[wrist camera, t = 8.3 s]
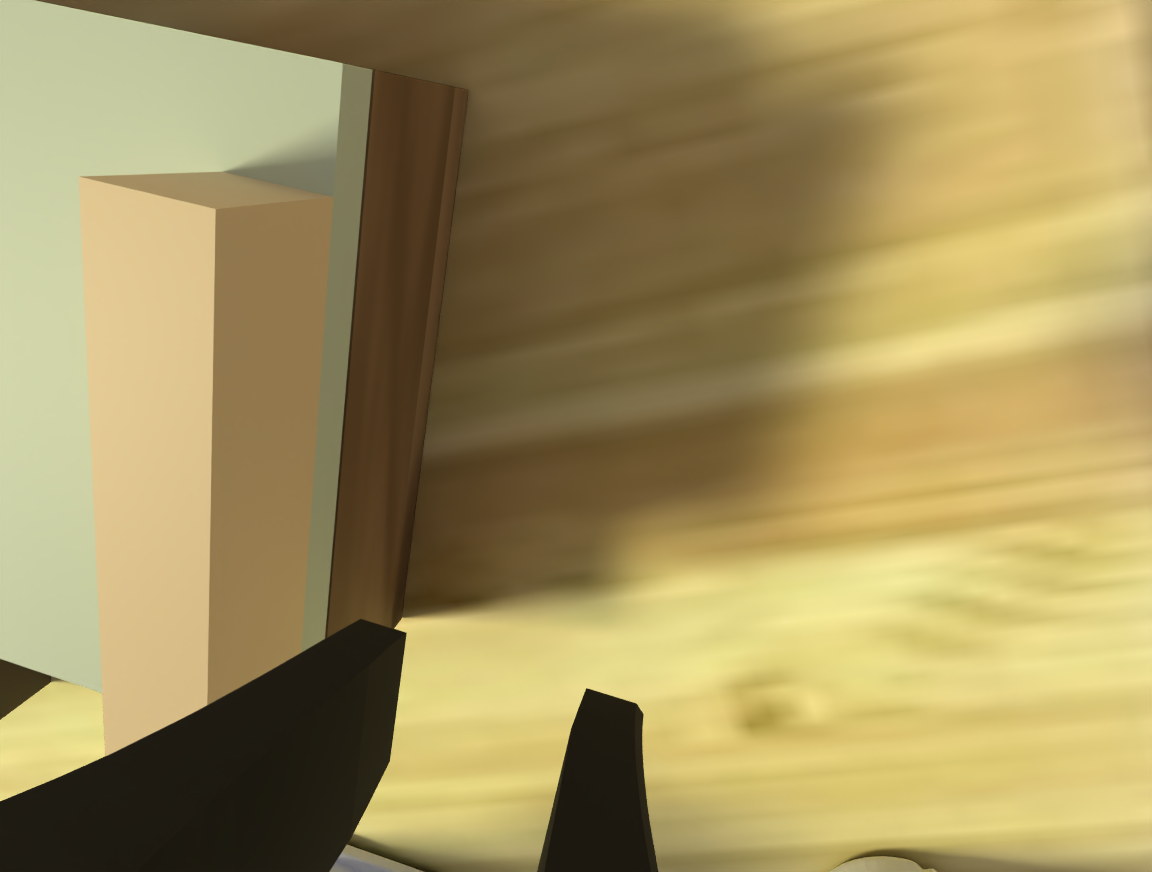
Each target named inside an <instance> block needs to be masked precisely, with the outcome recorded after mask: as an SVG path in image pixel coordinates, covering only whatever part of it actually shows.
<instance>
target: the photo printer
mask: <svg viewBox="0 0 1152 872" xmlns="http://www.w3.org/2000/svg"><path fill="white" fill-rule="evenodd" d="M830 872H937V871H936V870H935V869H922V868H921V867H920V866H919V865H918V864H917V863H915V862H914V861H911V860H907V859H903V858H897V857H887V856H877V857H865V858H860V859H855V860H851V861H848V862H846V863H843V864H841V865H839V866H837V867H836V868H834V869H832V870H831V871H830Z"/></svg>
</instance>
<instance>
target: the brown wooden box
mask: <svg viewBox="0 0 1152 872" xmlns="http://www.w3.org/2000/svg"><path fill="white" fill-rule="evenodd" d="M467 97H468V90H466V89H461V88H457V87H452V86H447V85H442V84H438V83H433V82H428V81H424V80H419V79H414V78H410V77H405V76H400V75H396V74H391V73H386V72H382V71H377V70H372V82H371V94H370V106H369V118H368V130H367V142H366V154H365V166H364V178H363V189H362V201H361V213H360V225H359V237H358V249H357V261H356V273H355V285H354V297H353V309H352V321H351V333H350V344H349V356H348V368H347V380H346V392H345V404H344V416H343V428H342V440H341V452H340V464H339V476H338V488H337V499H336V511H335V523H334V535H333V547H332V559H331V571H330V583H329V595H328V607H327V619H326V631H325V638H327V637H329V636H330V635H332V634H334V633H336V632H338V631H339V630H341V629H343V628H345V627H347V626H348V625H350V624H352V623H354V622H356V621H358V620H359V619H363V620H366V621H370V622H373V623H376V624H379V625H383V626H386V627H389V628H392V629H394V628H395V627H396V625H397V624H398V623H399V621H400V620H401V618H402V610H403V603H404V595H405V587H406V579H407V571H408V563H409V555H410V547H411V539H412V531H413V524H414V516H415V508H416V500H417V492H418V484H419V476H420V468H421V460H422V452H423V445H424V437H425V429H426V421H427V413H428V405H429V397H430V389H431V381H432V373H433V366H434V358H435V350H436V342H437V334H438V326H439V318H440V310H441V302H442V294H443V287H444V279H445V271H446V263H447V255H448V247H449V239H450V231H451V223H452V215H453V208H454V200H455V192H456V184H457V176H458V168H459V160H460V152H461V144H462V136H463V129H464V121H465V113H466V105H467Z"/></svg>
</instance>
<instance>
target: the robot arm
mask: <svg viewBox="0 0 1152 872" xmlns="http://www.w3.org/2000/svg"><path fill="white" fill-rule="evenodd" d="M405 641H406V633H405V632H402V631H399V630H396V629H392V628H389V627H386V626H383V625H379V624H376V623H373V622H370V621H366V620H363V619H359V620H358V621H356V622H354V623H352V624H350V625H348V626H347V627H345V628H343V629H341V630H339V631H338V632H336V633H334V634H332V635H330V636H329V637H327V638H325V639H324V640H322V641H320V642H318V643H317V644H315V645H313V646H311V647H310V648H308V649H306V650H305V651H303V652H301V653H299V654H298V655H296V656H294V657H292V658H291V659H289V660H287V661H286V662H284V663H282V664H280V665H279V666H277V667H275V668H273V669H272V670H270V671H268V672H266V673H265V674H263V675H261V676H259V677H258V678H256V679H254V680H252V681H250V682H248V683H247V684H245V685H243V686H241V687H239V688H238V689H236V690H234V691H232V692H230V693H228V694H227V695H225V696H223V697H221V698H219V699H217V700H216V701H214V702H212V703H210V704H208V705H207V706H205V707H203V708H201V709H199V710H197V711H195V712H193V713H192V714H190V715H188V716H186V717H184V718H182V719H180V720H178V721H176V722H174V723H172V724H170V725H168V726H166V727H164V728H162V729H160V730H158V731H156V732H154V733H152V734H150V735H148V736H146V737H144V738H142V739H140V740H138V741H136V742H134V743H132V744H130V745H128V746H126V747H124V748H122V749H120V750H118V751H116V752H114V753H112V754H109V755H107V756H105V757H103V758H101V759H99V760H97V761H94V762H92V763H90V764H88V765H86V766H83V767H81V768H79V769H76V770H74V771H72V772H70V773H67V774H65V775H63V776H61V777H58V778H56V779H54V780H51V781H49V782H46V783H44V784H42V785H39V786H37V787H34V788H32V789H29V790H27V791H25V792H22V793H20V794H17V795H15V796H12V797H10V798H8V799H5V800H3V801H0V872H424V871H421V870H418V869H415V868H413V867H410V866H407V865H404V864H401V863H398V862H395V861H393V860H390V859H387V858H384V857H381V856H378V855H375V854H373V853H370V852H367V851H364V850H361V849H358V848H356V847H353V846H350V845H347V844H348V842H349V840H350V839H351V837H352V835H353V833H354V831H355V829H356V827H357V825H358V823H359V821H360V819H361V818H362V816H363V814H364V812H365V810H366V808H367V806H368V804H369V802H370V800H371V798H372V796H373V794H374V792H375V790H376V788H377V786H378V784H379V782H380V780H381V778H382V776H383V774H384V772H385V770H386V768H387V766H388V764H389V762H390V756H391V748H392V740H393V733H394V725H395V717H396V710H397V702H398V694H399V687H400V679H401V671H402V664H403V656H404V648H405ZM642 725H643V713H642V711H641V710H640V708H639V707H638V705H637V704H636V703H633V702H629V701H626V700H623V699H620V698H616V697H613V696H610V695H607V694H603V693H600V692H597V691H594V690H590V689H587V688H586V691H585V693H584V696H583V699H582V701H581V704H580V706H579V709H578V712H577V714H576V717H575V720H574V723H573V725H572V728H571V732H570V736H569V740H568V745H567V749H566V753H565V757H564V761H563V766H562V770H561V774H560V778H559V782H558V787H557V791H556V795H555V799H554V803H553V808H552V812H551V816H550V820H549V824H548V829H547V833H546V837H545V841H544V845H543V850H542V854H541V858H540V862H539V866H538V871H537V872H658V868H657V862H656V856H655V850H654V845H653V839H652V833H651V827H650V821H649V814H648V807H647V799H646V789H645V779H644V769H643V753H642Z"/></svg>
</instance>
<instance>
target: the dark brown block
mask: <svg viewBox="0 0 1152 872" xmlns="http://www.w3.org/2000/svg"><path fill="white" fill-rule="evenodd" d="M50 682H51V676H50V675H47V674H44V673H41V672H38V671H35V670H32V669H29V668H26V667H23V666H20V665H17V664H14V663H11V662H8V661H5V660H2V659H0V719H2V718H3V717H5V716H6V715H7V714H9V713H10V712H11V711H13V710H14V709H15V708H17V707H18V706H19V705H21V704H22V703H23V702H25V701H26V700H27V699H29V698H30V697H31V696H33V695H34V694H35V693H37V692H38V691H39V690H41V689H42V688H44V687H45V686H46V685H48V684H49V683H50Z"/></svg>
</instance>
